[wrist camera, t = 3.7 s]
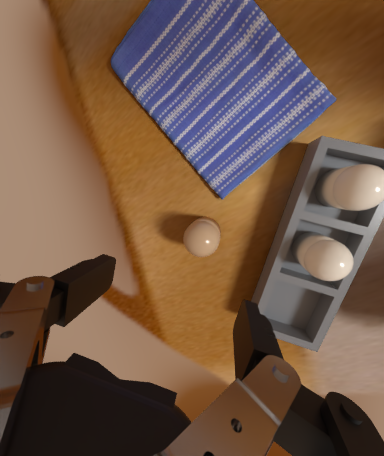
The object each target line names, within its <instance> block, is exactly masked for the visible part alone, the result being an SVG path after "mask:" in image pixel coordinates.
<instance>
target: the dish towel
mask: <svg viewBox="0 0 384 456" xmlns="http://www.w3.org/2000/svg"><path fill="white" fill-rule="evenodd" d="M111 66H112V68H113V70H114V71H115V72H116V74H117V75H118V76H119V78H120V79H121V81H122V82H123V83H124V85H125V86H126V87H127V88H128V90H129V91H130V92H131V93H132V94H133V95H134V96H135V98H136V99H137V101H138V102H139V103H140V104H141V105H142V107H143V108H144V109H145V110H146V111H147V112H148V113H149V115H150V116H151V117H152V118H153V119H154V120H155V121H156V123H157V124H158V125H159V126H160V128H161V129H162V130H163V131H164V132H165V133H166V134H167V136H168V137H169V138H170V139H171V140H172V142H173V143H174V145H175V146H176V147H177V148H178V149H179V150H180V151H181V152H182V153H183V154H184V156H185V157H186V159H187V160H188V161H189V162H190V163H191V164H192V166H193V167H194V168H195V169H196V170H197V172H198V174H200V175H201V176H202V177H203V179H204V180H205V181H206V182H207V183H208V184H209V186H210V187H211V188H212V189H213V190H214V191H215V192H216V193H217V194H218V195H219V197H220V198H221V199H224V197H225V196H226V195H228V194H229V193H230V192H231V191H232V190H234V189H235V188H236V187H237V186H238V185H239V184H241V183H242V182H243V181H244V180H245V179H247V178H248V177H249V176H250V175H252V174H253V173H254V172H255V171H256V170H258V169H259V168H260V167H261V166H262V165H264V164H265V163H266V162H267V161H268V160H270V159H271V158H272V157H273V156H274V155H275V154H276V153H278V152H279V151H280V150H281V149H283V148H284V147H285V146H286V145H287V144H288V143H290V142H291V141H292V140H293V139H294V138H295V137H296V136H298V135H299V134H300V133H301V132H302V131H303V130H305V129H306V128H307V127H308V126H309V125H310V124H312V122H314V121H315V119H317V118H318V117H319V116H320V115H321V114H322V113H323V112H324V111H325V110H326V109H327V108H328V107H329V106H330V105H331V104H333V103H334V102H335V101H336V98H335V97H334V96H333V95H332V94H331V93H330V92H329V91H328V89H327V88H326V86H325V85H324V84H323V83H322V82H321V81H319V80H318V79H317V78H316V77H315V76H314V75H313V74H312V73H311V71H310V70H309V68H308V67H307V66H306V65H305V64H304V63H303V62H302V61H301V59H300V58H299V57H298V56H297V54H296V52H295V51H294V50H293V49H292V47H291V46H290V45H289V44H288V43H287V42H286V41H285V39H284V38H283V37H282V36H281V35H280V33H279V32H278V31H277V29H276V28H275V26H274V25H273V24H272V23H271V22H270V21H269V20H268V18H267V16H266V14H265V13H264V12H263V11H262V10H261V9H260V8H259V6H258V5H257V4H256V3H255V2H254V0H151V1H150V2H149V4H148V5H147V6H146V8H145V9H144V10H143V12H142V13H141V14H140V16H139V17H138V19H137V20H136V21H135V23H134V24H133V25H132V27H131V28H130V29H129V30H128V32H127V34H126V35H125V37H124V39H123V40H122V42H121V43H120V44H119V45H118V46H117V48H116V50H115V52H114V54H113V56H112V58H111Z"/></svg>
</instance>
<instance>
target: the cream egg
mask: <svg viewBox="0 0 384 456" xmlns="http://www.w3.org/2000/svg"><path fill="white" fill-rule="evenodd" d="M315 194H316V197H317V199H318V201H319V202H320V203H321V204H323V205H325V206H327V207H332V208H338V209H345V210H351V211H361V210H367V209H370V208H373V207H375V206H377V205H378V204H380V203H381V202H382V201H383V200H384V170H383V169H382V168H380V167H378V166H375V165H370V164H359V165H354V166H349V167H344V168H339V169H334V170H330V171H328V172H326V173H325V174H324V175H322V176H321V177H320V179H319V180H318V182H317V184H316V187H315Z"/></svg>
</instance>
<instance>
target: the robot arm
mask: <svg viewBox="0 0 384 456" xmlns="http://www.w3.org/2000/svg"><path fill="white" fill-rule="evenodd" d="M115 264H116V259H115V258H114V257H111V256H108V255H105V254H102V255H100V256H98V257H97V258H95V259H90V260H85V261H82V262H80V263H78V264H76V265H74V266H72V267H70V268H68V269H66V270H64V271H62V272H60V273H58V274H56V275H54V276H52V277H50V278H49V277H45V276H33V277H28V278H25V279H22V280H20V281H18V282H17V283H16V284H15V283H5V282H0V456H266V455H267V453H268V451H269V449H270V447H271V445H272V443H273V442H276V443H277V444H278V445H280V446H281V447H282V448H283V449H285V450H286V451H287V452H288V453H290V454H291V455H292V456H384V441H383V439H382V438H381V436H380V435H379V433H378V431H377V429H376V428H375V426H374V424H373V423H372V421H371V420H370V418H369V417H368V416H367V415H366V413H365V412H364V411H363V410H362V409H361V408H360V407H359V406H357V404H355V403H354V402H353V401H352V400H350V399H349V398H347V397H346V396H344V395H342V394H340V393H337V392H329V393H328V394H327V395H326V397H325V399H324V398H322V397H320V396H319V395H317V394H316V393H314V392H312V391H311V390H309V389H308V388H306V387H305V386H303V385H302V384H301V380H300V378H299V375H298V374H297V372H296V371H295V370H294V368H293V367H292V366H291V365H290V364H289V363H287V362H286V361H285V360H284V359H283V356H282V353H281V350H280V348H279V345H278V342H277V339H276V336H275V333H274V332H273V331H274V330H273V327H272V325H271V323H270V321H269V320H268V319H267V317H266V316H265V315H262V314H260V311H259V308H258V304H257V303H254V302H251V301H248V300H245V299H244V300H243V301H242V303H241V306H240V309H239V312H238V315H237V317H236V320H235V323H234V328H233V342H234V359H235V376H236V380H235V381H234V382H233V383H231V384H230V385H229V386H228V387H227V388H226V389H225V390H224V392H222V393H221V394H220V395H219V397H217V398H216V399H215V400H214V401H213V402H212V403H211V404H210V405H209V406H208V407H207V408H206V409H205V410H204V411H203V413H201V414H200V415H199V416H198V417H197V418H196V419H195V420H194V421H193V422H192V423H191V421H190V420H189V418H188V417H187V416H186V414H185V413H184V412H183V411H182V410H181V409H180V408H179V407H177V406H176V405H175V399H176V395H177V393H176V392H173V391H171V390H168V389H165V388H163V387H160V386H158V385H155V384H153V383H149V382H139V381H129V380H121V379H119V378H117V377H116V376H115V375H113V374H112V373H111V372H110V371H108V370H107V369H106V368H105V367H104V366H102V365H101V364H100V363H98V362H96V361H94V360H91V359H89V358H86V357H84V356H81V355H78V354H76V353H73V354H72V356H71V357H70V358H69V359H68V360H67V361H66V362H49V363H44V364H42V363H43V359H44V355H45V350H46V346H47V342H48V337H49V333H50V327H51V326H52V325H53V324H57V325H60V326H63V327H65V326H66V325H67V324H68V323H70V322H71V321H72V320H73V319H74V318H76V317H77V316H78V315H79V314H80V313H81V312H83V311H84V310H85V309H86V308H87V307H88V306H90V305H91V304H92V303H93V302H94V301H96V300H97V299H98V298H99V297H100V296H101V295H103V294H104V293H105V292H106V291H107V290H108V289H109V288H110V286H111V284H112V281H113V276H114V270H115Z"/></svg>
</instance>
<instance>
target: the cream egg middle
mask: <svg viewBox="0 0 384 456" xmlns="http://www.w3.org/2000/svg"><path fill="white" fill-rule="evenodd" d="M292 254H293V257H294V258H295V259H296V261H297V262H299V263H300V264H301V265H302V266H303V267H304V268H305V269H306V270H307V271H308V272H309V273H310V274H311V275H312V276H314V277H316V278H318V279H320V280H324V281H337V280H340V279H343V278H345V277H346V276H347V275H348V274H349V273H350V272H351V270H352V268H353V264H354V260H353V256H352V254H351V252H350V250H349V249H348V248H347V247H346V246H345V245H343V244H342V243H340V242H338V241H336V240H334V239H331V238H329V237H327V236H325V235H322V234H320V233H317V232H307V233H304V234H302V235H300V236H299V237H298V238H296V240H295V241H294V243H293V245H292Z"/></svg>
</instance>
